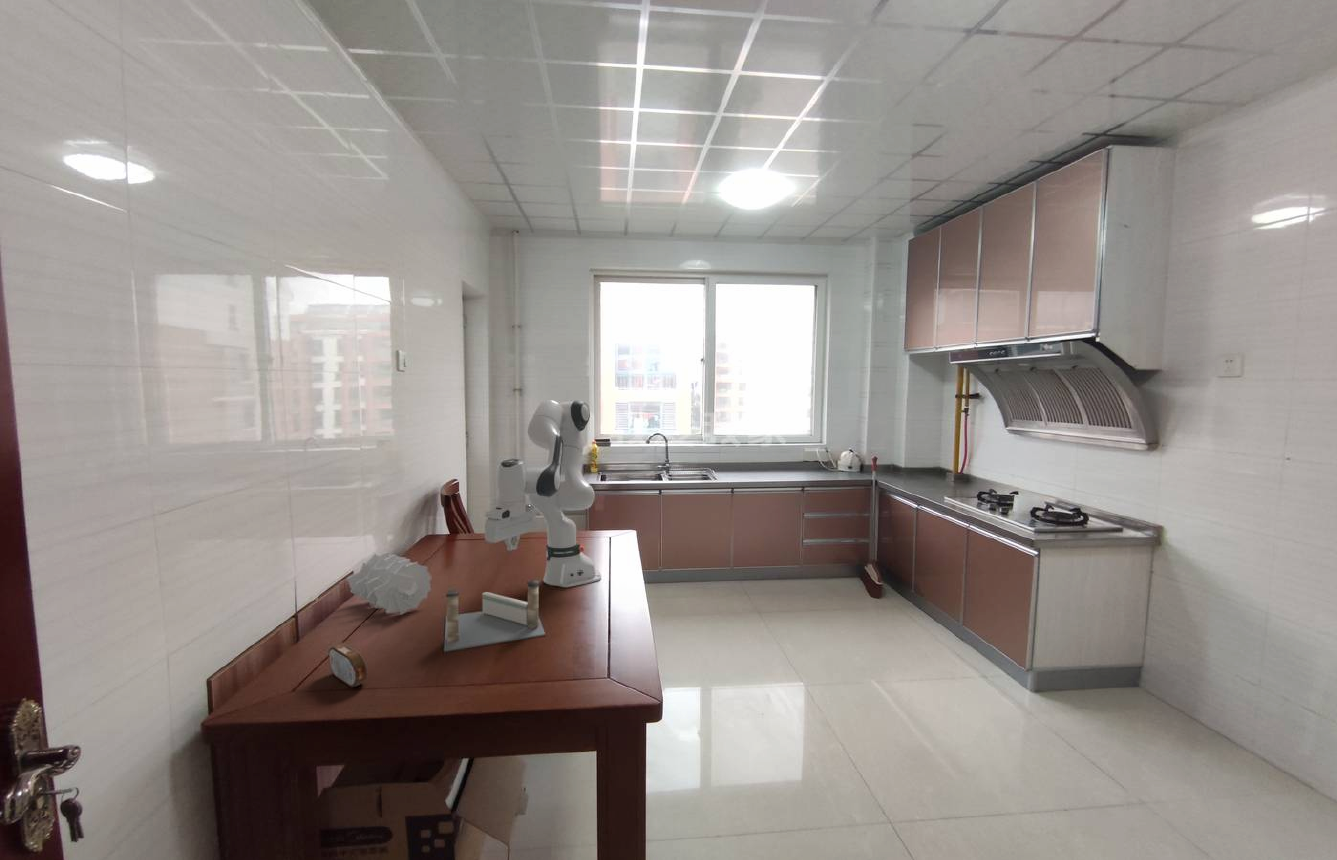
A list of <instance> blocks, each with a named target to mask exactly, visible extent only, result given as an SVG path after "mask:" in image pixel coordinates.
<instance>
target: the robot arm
mask: <svg viewBox="0 0 1337 860" xmlns="http://www.w3.org/2000/svg"><path fill="white" fill-rule="evenodd" d="M590 418H591V413H590V408H589V406H588V404H587V403H586V402H585V401H583V400H574V401H561V402H557V400H551V399H547V400H544V401H542V402H541V403H540V404H539V405H538V407H537V408H536V409H535V411H534V413H533V415H532V418H531V419H530V422H529V424H528V427H527V434H528V437H529V439H530V441H531V442H532V443H533V444H535V445H536V446H537V447H538V448H542V449H545V450H546V451H549V454H548V460H547V465H545V466H541V467H540V466H539V467H538V466H536V467H535V466H526V465H525V464H524V461H523V460H522V459H518V458H509V459H505V460H502V461H501V462H500V464H499V466H498V473H497V490H498V497H497V503H496V504H495V505H493V506H492V507H491V508H489V509H487V510H486V511H485V518H487V519H486V520H485V523H484V540H485V541H486V542H487V543H491V544H495V543H498V542H502V541H504V543H505V544H506V550H507V551H513V550H517V549H518V543H519V541H520V538H521V535H525V534H527V533H530V532H533V531H536V529H537V517H536V513H535V510H536V511H538V512H539V513H540V515H541V516H542V518H543V520H544V521H545V525H546V536H547V544H546V548H545V558H546V567H545V573H544V576H543V579H542V580H543V581H542V582H543V583H545V584H547V585H549V586H554V587H555V586H558V587H560V588H570V587H576V586H580V585H585V584H589V583H595V582H599V581H601V580H602V574H601V572H600V571H599V570H597V569H596V566H595V562H594V561H593V560H592V559H591V558H590V557H589V556H587V555H586V554H584V553H583V552H584V551H585V547H584V546H583V545H581V543H578V542H577V526H576V524H575V522H574V521H573V520H572V519H570V518H568V517H566V515H565V514H564V513H563V511H583V510H587V509H590V508H591V507H592V506H593V503H594V502H595V499H596V498H595V497H596V495H595V490H594V488H593V486H592V485H591V484H590V483H588V482H587V481H586V479H585V478H584V476H583V473H582V460H583V454H584V453H583V452H584V433H583V430H585V429H586V426H587V425H588V423H589V421H590ZM561 476H562V477H563V478H564V481H561ZM526 496H528V500H529V503H530V504H529V503H528V504H527V503H526V502H527V501H526Z"/></svg>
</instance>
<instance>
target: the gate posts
mask: <svg viewBox="0 0 1337 860" xmlns="http://www.w3.org/2000/svg"><path fill="white" fill-rule="evenodd" d="M526 586H527V602H528V629H536V628H538V616H539V586H540V581H539V579H538V580H537V579H531V580H528V581H527V582H526ZM459 593H460V592H459V589H458V588H457V589H448V590H446V591H445V598H446V616H447V643H448V642H454V641H459V634H458V615H459Z"/></svg>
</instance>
